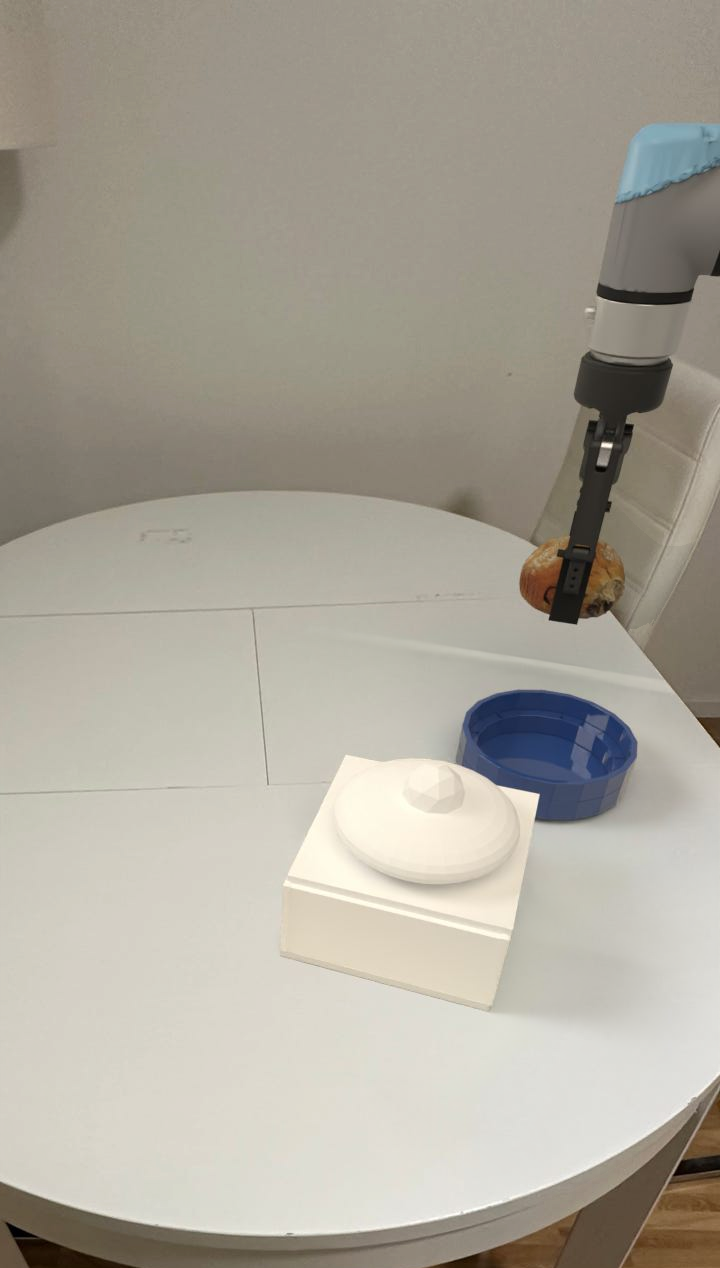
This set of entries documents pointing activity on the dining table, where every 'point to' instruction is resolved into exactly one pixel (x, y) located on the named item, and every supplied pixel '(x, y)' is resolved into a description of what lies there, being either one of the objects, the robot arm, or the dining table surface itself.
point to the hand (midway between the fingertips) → (568, 597)
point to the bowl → (550, 750)
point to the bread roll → (544, 575)
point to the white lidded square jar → (411, 878)
